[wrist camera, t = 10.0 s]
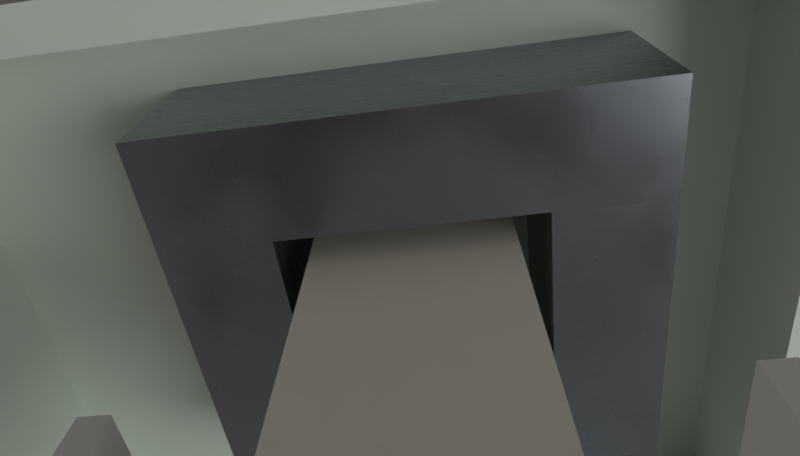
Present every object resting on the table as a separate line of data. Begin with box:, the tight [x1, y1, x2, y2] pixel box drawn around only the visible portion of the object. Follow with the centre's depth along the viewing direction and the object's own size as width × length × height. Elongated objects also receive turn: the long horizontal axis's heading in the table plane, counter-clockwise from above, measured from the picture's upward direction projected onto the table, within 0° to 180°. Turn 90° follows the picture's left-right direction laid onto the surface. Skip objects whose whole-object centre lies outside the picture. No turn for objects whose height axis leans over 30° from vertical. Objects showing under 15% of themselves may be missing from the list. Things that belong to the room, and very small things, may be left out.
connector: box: [255, 217, 584, 456], centre depth 13 cm, size 5×5×14 cm
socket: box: [115, 31, 693, 456], centre depth 17 cm, size 12×12×4 cm
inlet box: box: [0, 0, 800, 456], centre depth 18 cm, size 24×20×5 cm
